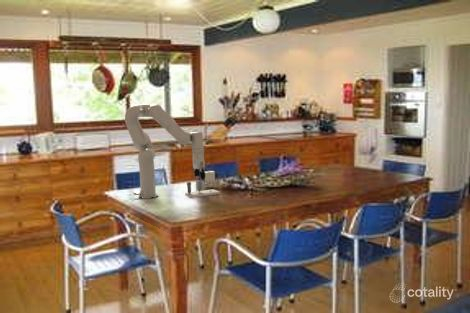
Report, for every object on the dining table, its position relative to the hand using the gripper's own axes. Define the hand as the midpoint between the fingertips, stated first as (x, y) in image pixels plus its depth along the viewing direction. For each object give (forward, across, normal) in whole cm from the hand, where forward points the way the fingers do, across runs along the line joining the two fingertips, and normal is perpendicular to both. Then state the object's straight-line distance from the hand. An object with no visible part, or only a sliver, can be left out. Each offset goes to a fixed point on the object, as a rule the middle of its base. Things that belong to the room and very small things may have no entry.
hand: (200, 177), depth 322 cm
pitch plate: (+12, 0, +1) cm, 12 cm away
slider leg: (+10, 0, -1) cm, 10 cm away
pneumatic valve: (+12, -22, +15) cm, 30 cm away
